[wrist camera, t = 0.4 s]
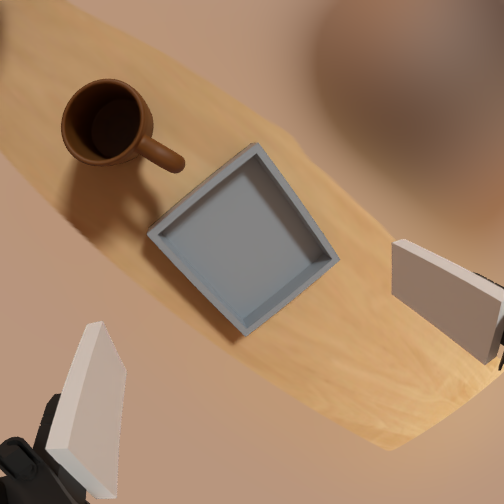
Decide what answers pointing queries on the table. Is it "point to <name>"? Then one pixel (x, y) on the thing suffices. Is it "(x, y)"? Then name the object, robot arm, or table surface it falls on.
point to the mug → (113, 127)
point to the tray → (245, 240)
